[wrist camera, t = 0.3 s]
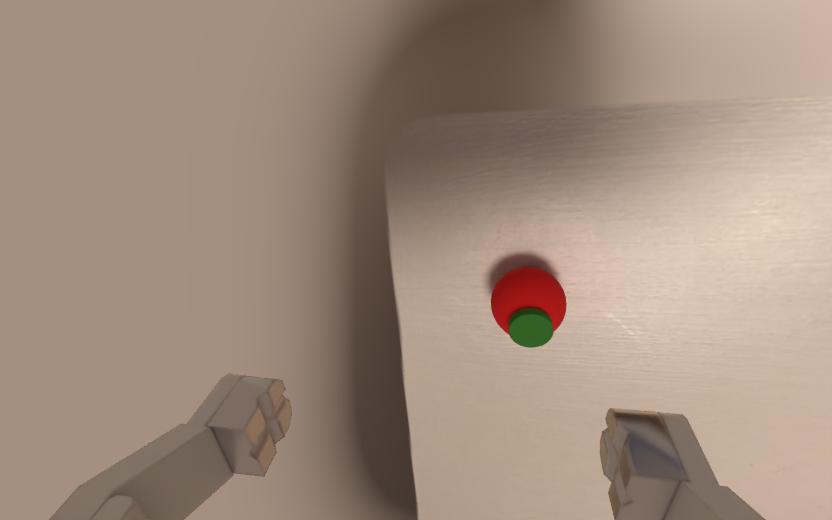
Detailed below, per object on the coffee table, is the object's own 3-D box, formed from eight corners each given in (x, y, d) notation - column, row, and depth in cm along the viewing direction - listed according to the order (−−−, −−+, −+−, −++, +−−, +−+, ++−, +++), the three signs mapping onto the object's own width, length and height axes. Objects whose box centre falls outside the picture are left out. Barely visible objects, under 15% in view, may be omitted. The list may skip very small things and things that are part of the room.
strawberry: (492, 253, 26) (491, 297, 22) (564, 254, 25) (578, 301, 21) (490, 308, 28) (489, 358, 24) (557, 311, 27) (568, 363, 23)
